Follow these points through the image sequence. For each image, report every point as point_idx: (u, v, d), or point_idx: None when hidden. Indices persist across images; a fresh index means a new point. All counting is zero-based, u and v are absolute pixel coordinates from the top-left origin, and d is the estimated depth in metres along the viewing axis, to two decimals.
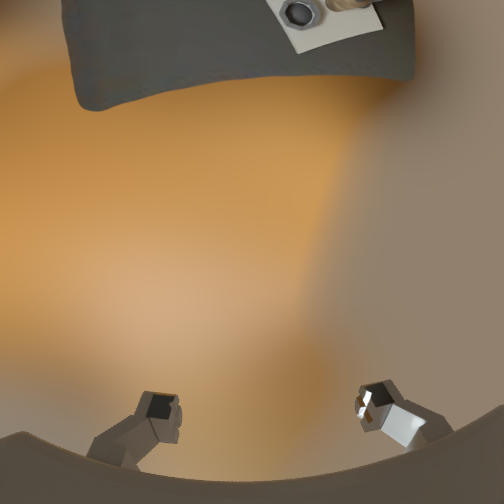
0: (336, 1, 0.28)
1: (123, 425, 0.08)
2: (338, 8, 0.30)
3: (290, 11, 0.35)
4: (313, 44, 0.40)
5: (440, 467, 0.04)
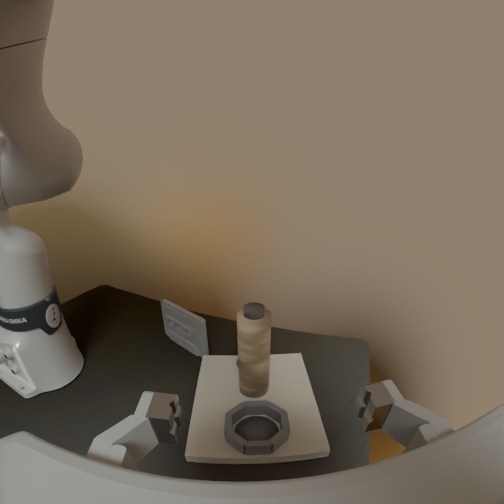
0: (253, 361, 0.31)
1: (123, 425, 0.08)
2: (264, 371, 0.32)
3: (246, 438, 0.26)
4: (317, 428, 0.26)
5: (440, 467, 0.04)
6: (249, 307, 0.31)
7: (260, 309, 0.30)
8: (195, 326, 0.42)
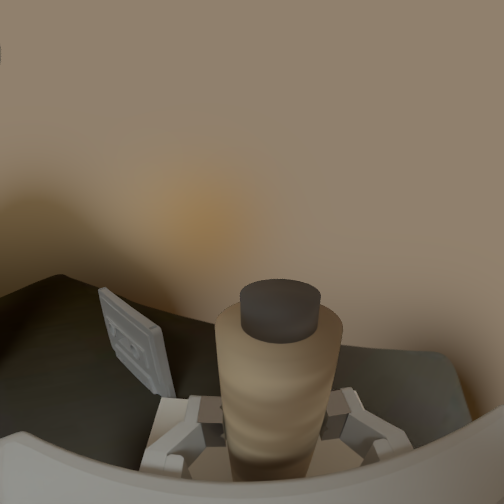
0: (272, 463, 0.08)
1: (175, 433, 0.08)
2: (302, 472, 0.09)
3: None
4: None
5: (440, 467, 0.04)
6: (263, 295, 0.08)
7: (308, 301, 0.07)
8: (144, 340, 0.19)
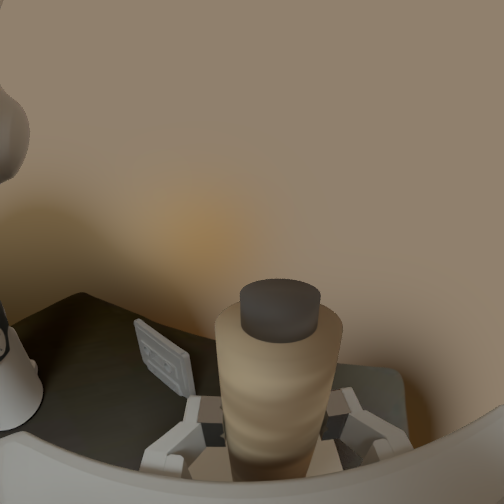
0: (272, 463, 0.08)
1: (175, 433, 0.08)
2: (302, 472, 0.09)
3: None
4: None
5: (440, 467, 0.04)
6: (263, 294, 0.08)
7: (308, 301, 0.07)
8: (176, 361, 0.29)
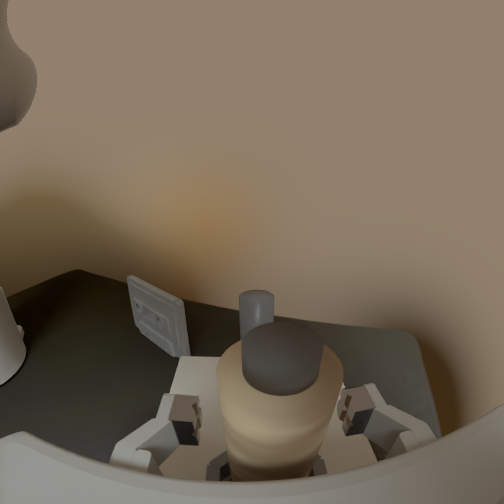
0: None
1: (145, 429, 0.08)
2: None
3: None
4: None
5: (440, 467, 0.04)
6: (265, 346, 0.07)
7: (310, 356, 0.07)
8: (169, 311, 0.27)
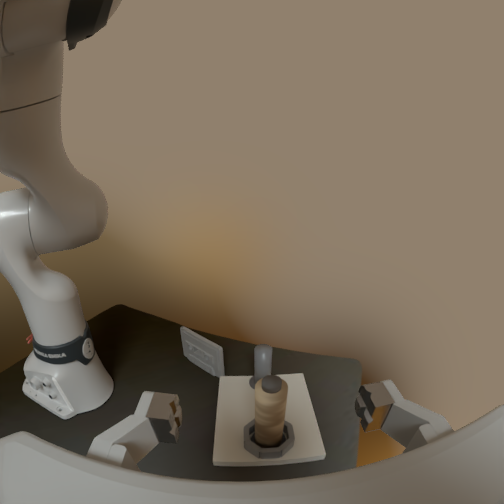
0: (269, 424, 0.29)
1: (123, 425, 0.08)
2: (279, 430, 0.30)
3: None
4: (315, 437, 0.33)
5: (440, 467, 0.04)
6: (267, 381, 0.29)
7: (278, 384, 0.29)
8: (213, 352, 0.48)
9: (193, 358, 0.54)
